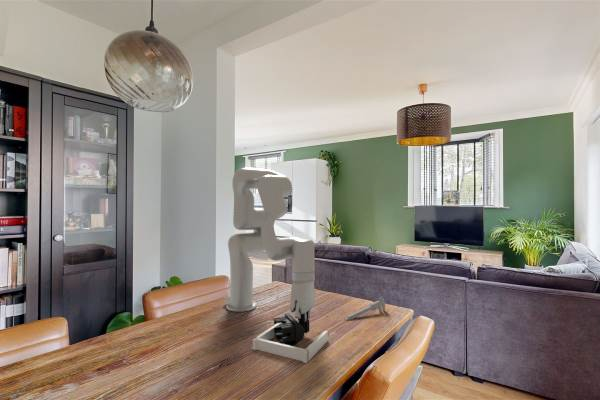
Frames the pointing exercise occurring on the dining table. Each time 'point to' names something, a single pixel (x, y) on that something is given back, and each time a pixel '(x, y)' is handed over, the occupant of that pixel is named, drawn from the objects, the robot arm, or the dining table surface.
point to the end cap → (288, 330)
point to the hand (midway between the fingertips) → (304, 331)
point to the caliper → (371, 307)
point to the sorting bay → (288, 346)
